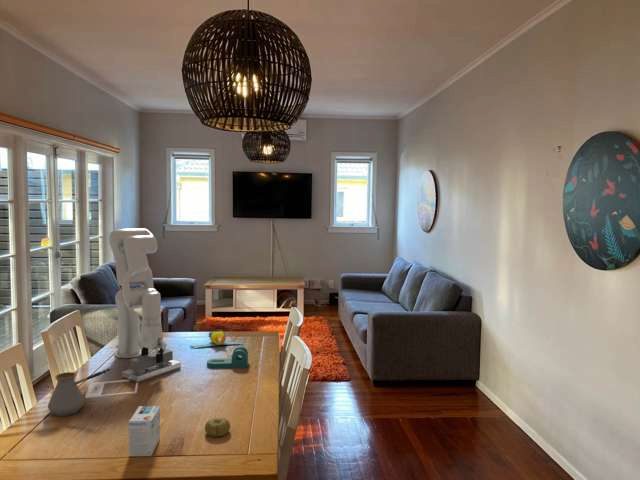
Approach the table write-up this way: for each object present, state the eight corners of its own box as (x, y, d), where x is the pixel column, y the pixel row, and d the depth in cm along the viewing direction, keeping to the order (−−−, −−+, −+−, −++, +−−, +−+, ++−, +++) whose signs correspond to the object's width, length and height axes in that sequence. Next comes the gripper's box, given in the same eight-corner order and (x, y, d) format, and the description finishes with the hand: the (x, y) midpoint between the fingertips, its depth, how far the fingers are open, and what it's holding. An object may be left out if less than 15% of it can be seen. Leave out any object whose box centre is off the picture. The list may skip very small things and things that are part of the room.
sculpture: (215, 429, 151) (199, 421, 156) (215, 441, 151) (199, 433, 156) (235, 420, 157) (219, 413, 162) (235, 432, 157) (219, 425, 163)
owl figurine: (191, 334, 239) (188, 327, 254) (191, 352, 240) (188, 344, 254) (247, 330, 249) (242, 323, 263) (247, 347, 249) (242, 339, 264)
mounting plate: (122, 378, 202) (122, 371, 202) (165, 364, 221) (165, 357, 220) (137, 384, 197) (137, 376, 197) (180, 368, 215) (180, 362, 215)
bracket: (247, 363, 225) (248, 346, 224) (246, 368, 218) (247, 350, 217) (208, 363, 223) (208, 346, 222) (205, 368, 216) (205, 351, 216)
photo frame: (90, 382, 196) (138, 378, 201) (90, 385, 196) (138, 380, 202) (85, 396, 182) (136, 391, 188) (85, 399, 182) (136, 394, 188)
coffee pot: (41, 418, 165) (40, 375, 164) (56, 404, 176) (55, 364, 175) (107, 417, 167) (106, 374, 166) (118, 403, 179) (117, 363, 177)
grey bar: (130, 376, 203) (130, 359, 202) (165, 364, 217) (165, 349, 217) (137, 378, 200) (136, 361, 199) (172, 366, 215) (172, 350, 214)
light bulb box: (138, 439, 152) (138, 405, 151) (160, 438, 153) (160, 405, 152) (128, 457, 142) (127, 421, 141) (152, 456, 142) (151, 420, 141)
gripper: (131, 319, 209) (131, 358, 210) (157, 325, 199) (158, 366, 200) (146, 316, 215) (146, 354, 216) (172, 322, 205) (172, 361, 207)
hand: (152, 360), depth 208 cm, fingers open, 9 cm apart
